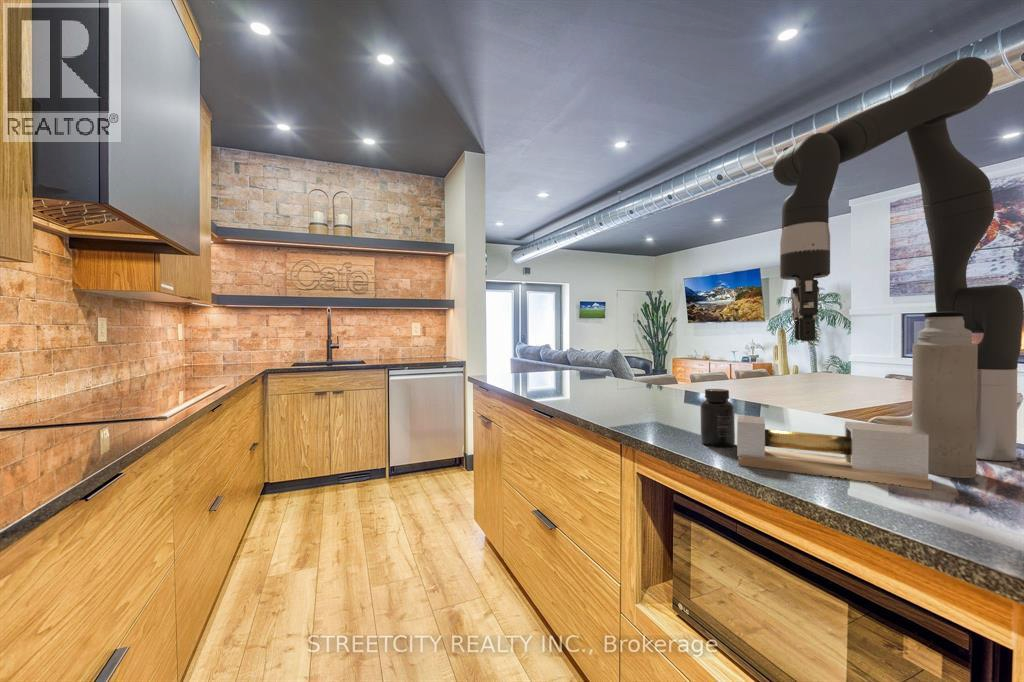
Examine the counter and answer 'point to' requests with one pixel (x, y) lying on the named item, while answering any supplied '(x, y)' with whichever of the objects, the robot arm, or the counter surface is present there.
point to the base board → (827, 468)
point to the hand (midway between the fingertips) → (804, 340)
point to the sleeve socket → (856, 446)
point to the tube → (808, 442)
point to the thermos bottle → (946, 393)
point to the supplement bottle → (717, 419)
